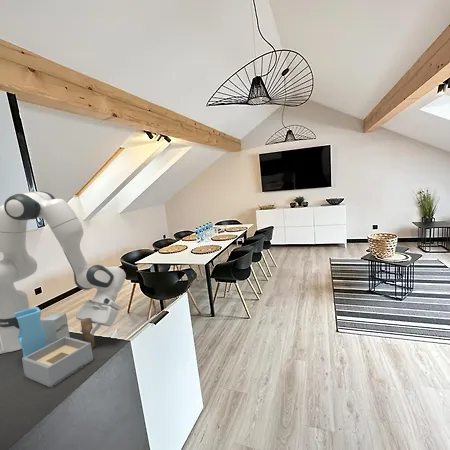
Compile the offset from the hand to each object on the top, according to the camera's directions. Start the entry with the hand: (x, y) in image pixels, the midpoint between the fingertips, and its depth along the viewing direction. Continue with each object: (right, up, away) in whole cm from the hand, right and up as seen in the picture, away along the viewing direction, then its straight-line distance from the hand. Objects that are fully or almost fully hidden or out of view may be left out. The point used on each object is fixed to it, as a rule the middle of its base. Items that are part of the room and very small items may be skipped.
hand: (86, 333), depth 114 cm
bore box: (-4, -8, -12) cm, 15 cm away
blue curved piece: (-18, -9, -4) cm, 20 cm away
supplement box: (-16, -7, +7) cm, 19 cm away
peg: (+1, -6, +1) cm, 6 cm away
